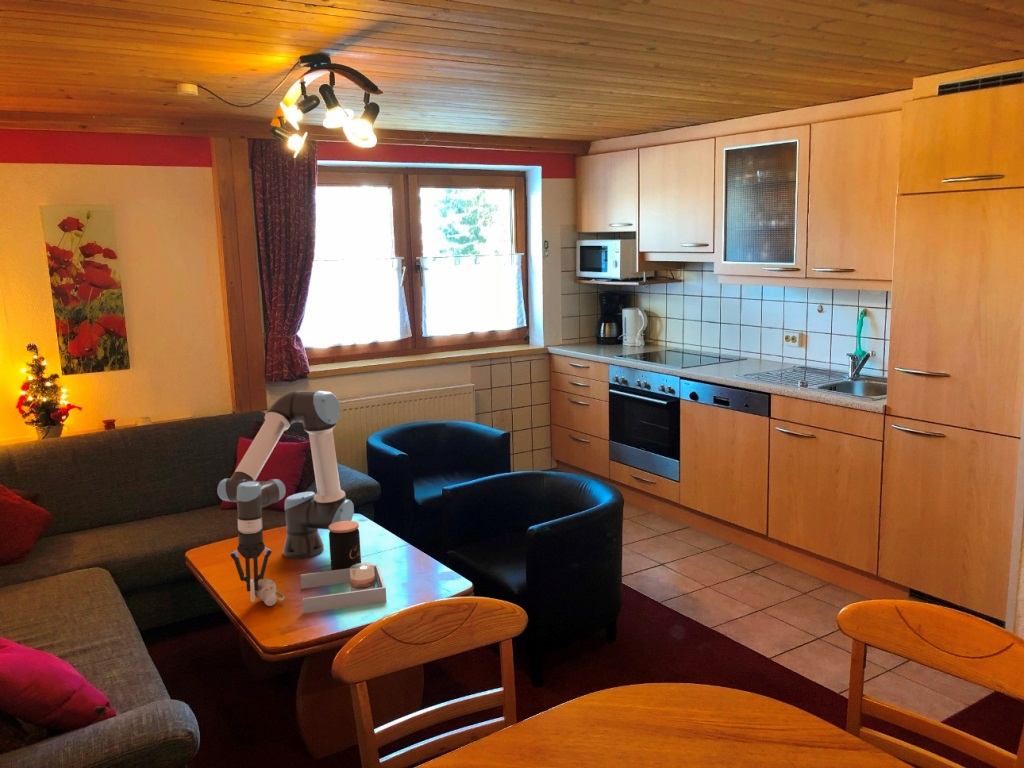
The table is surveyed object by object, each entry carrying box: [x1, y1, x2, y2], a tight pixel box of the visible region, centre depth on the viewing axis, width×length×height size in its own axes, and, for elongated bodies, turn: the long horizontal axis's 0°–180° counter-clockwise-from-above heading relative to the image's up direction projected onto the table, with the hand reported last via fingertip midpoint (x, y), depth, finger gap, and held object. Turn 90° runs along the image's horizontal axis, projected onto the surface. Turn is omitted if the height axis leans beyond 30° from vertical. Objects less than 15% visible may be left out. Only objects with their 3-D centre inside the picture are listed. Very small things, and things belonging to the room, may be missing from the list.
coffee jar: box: [328, 520, 362, 571], centre depth 291 cm, size 11×11×18 cm
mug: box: [255, 578, 286, 607], centre depth 268 cm, size 8×10×10 cm
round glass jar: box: [349, 562, 376, 592], centre depth 275 cm, size 8×8×9 cm
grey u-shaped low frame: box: [299, 564, 387, 615], centre depth 273 cm, size 22×26×5 cm
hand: (253, 599), depth 266 cm, fingers closed
